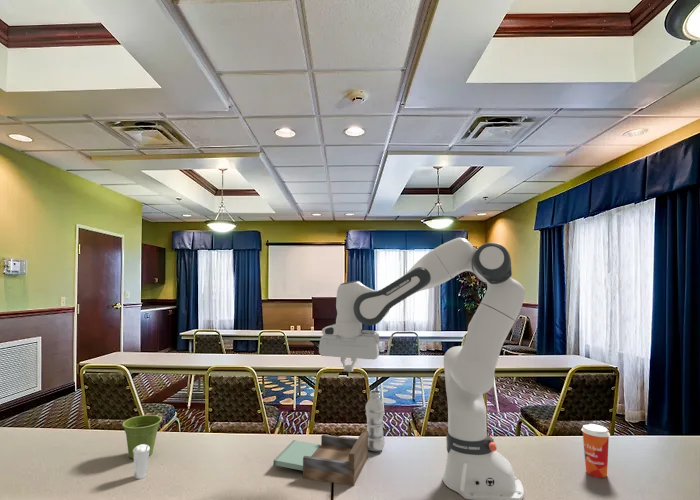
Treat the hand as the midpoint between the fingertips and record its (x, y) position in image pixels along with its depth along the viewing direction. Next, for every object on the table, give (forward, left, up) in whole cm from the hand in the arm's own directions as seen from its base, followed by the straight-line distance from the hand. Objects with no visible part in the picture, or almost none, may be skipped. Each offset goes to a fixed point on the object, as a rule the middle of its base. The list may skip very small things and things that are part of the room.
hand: (348, 370), depth 136 cm
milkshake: (+57, +28, -29) cm, 70 cm away
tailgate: (+10, +6, -26) cm, 29 cm away
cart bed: (+2, +6, -29) cm, 30 cm away
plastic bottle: (-7, -10, -29) cm, 32 cm away
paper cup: (-77, -13, -29) cm, 83 cm away
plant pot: (+68, +16, -29) cm, 76 cm away
